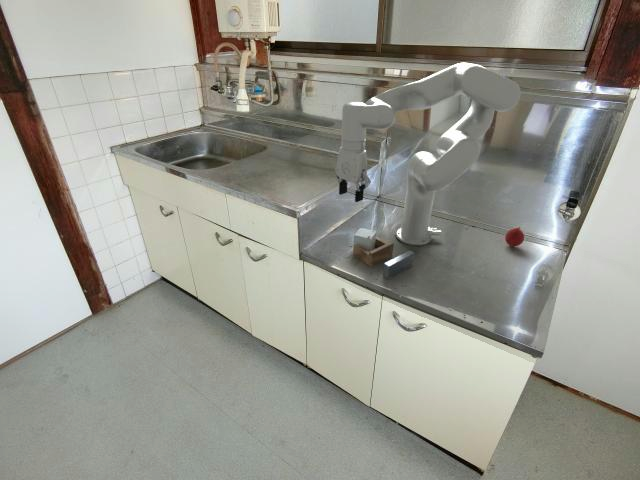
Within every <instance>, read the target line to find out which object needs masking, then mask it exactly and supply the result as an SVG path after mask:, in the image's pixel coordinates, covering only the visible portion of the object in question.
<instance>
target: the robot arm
mask: <svg viewBox="0 0 640 480" xmlns="http://www.w3.org/2000/svg"><path fill="white" fill-rule="evenodd" d="M521 95H522V91H521V88H520V86H519V84H518V83H517V82H516V81H514V80H512V79H510V78H507V77H505V76H503V75H501V74H499V73H497V72H496V71H493V70H491V69H488V68H486V67H484V66H482V65H480V64H475V63H469V62H460V63H456V64H453V65H451V66H449V67H447V68H444V69H442V70H440V71H438V72H435V73H433V74H431V75H429V76H427V77H424V78H422V79H420V80H418V81H414V82H410V83H407V84H404V85H400V86H397V87H395V88H391V89H389V90H386V91H384V92H381V93H380V94H377V95H375V96H373V97H371V98H370V99H368V100H367V101H365V103H364V102H361V101H359V102H358V101H351V102H346V103H345V104H343V106H342V109H341V110H342V111H341V112H342V113H341V115H342V119H341V138H340V142H341V145H340V147H339V150H338V154H337V159H336V160H337V161H336V166H335V167H334V172H335V175H336V178H337V182H338V184H339V185H338V186H339V187H338V188H339V189H338V195H340V196H342V195H344V194H347V193H348V183H352V184H355V188H356V190H355V193H354V202H355V203H358V202H361V201H363V200H364V191H365V190H366V189H367V188H368V187H369V185H370V184H372V181H371V179H370V177H369V176H368V158H367V157H368V155H367V150H366V141H367V129H371V130H376V131H377V130H378V131H380V130H381V131H383V130H387V129H389V128H391V127H392V126H393V125H394V124H395V121H396V113H399V112H402V111H410V110H412V111H420V110H421V111H423V110H428V109H431V108H432V107H435V106H438V105H440V104H442V103H444V102H447V101H448V100H451V99H453V98H455V97H458V96H463V97H466V98H468V99H471V104H470V107H469V109H468V111H467V112H466V114H465V115H464V116H463V117H462V118H461V119H460V120H458V121H457V122H456V123H455V124H454V125H453V126H451V127H450V128H449V129H448V130H446V131H445V132H444V133H443V134H442V135H441V136H439V137H438V139H437V141H436V142H435V149H436V152H437V154H438V155H439V156H440V157H437V156H436V155H434V154H433V153H431V152H429V151H425V150H424V151H423V150H422V151H419V152H416V153H414V154H413V155H412V156H411V157H410V158H409V160H408V162H407V168H406V180H407V181H406V193H405V198H404V199H405V200H404V206H403V213H402V221H401V227H400V228H398V229H397V231H396V234H395V236H396V239H397V240H399V241H400V242H402V243H404V244H406V245H410V246H424V245H427V244H429V243H430V242H431V241H432V237H433V236H435V237H436V236H437V237H441V236H442V234H443V233H442V230H438V228H437V227H431V226H430V223H431V215H432V211H433V207H434V206H433V205H434V200H435V193H436V192H438V191H442V190H443V189H445V188H446V187H448V186H450V184H452V183H453V182H454V181H456V180H457V179H458V178H459V177H460V176H462V175H463V174H464V173H465V172H467V171H468V170H469V169H470V168H471V167H473V166H474V165H475V163H476V162H477V160H478V159H479V156H480V153H481V146H480V143H479V142H478V140H479V139H481V138H482V136H484V134H485V133H487V132H488V130H489V129H490V127H491V125H492V122H493V120H494V115H495V111H496V112H499V113H503V112H508V111H510V110H513V109H514V108H515V107H516V106H517V105H518V103H519V102H520V99H521V97H522V96H521Z"/></svg>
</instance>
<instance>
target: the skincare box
mask: <svg viewBox="0 0 640 480" xmlns="http://www.w3.org/2000/svg"><path fill="white" fill-rule="evenodd" d="M376 237H377V230H372V229H368V228H364V227H359V229H357V231H356V233H355V234H354V236H353V249H352V253H353V252H354V245H358V246H360V247H361V248H363V249H365V250H367V251H368V252H370V251H372V250H375V242H376Z"/></svg>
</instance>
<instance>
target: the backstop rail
mask: <svg viewBox="0 0 640 480" xmlns="http://www.w3.org/2000/svg"><path fill="white" fill-rule="evenodd" d="M414 259H415V252H413V251H412V250H410V249H409V250H407V251H405V252H404V253H402V254H400V255H398V256H396V257H394V258H392V259H390V260H388V261H386V262H384V264H383V273H382V277H383V278H384V279H386V280H387V281H388V280H389V279H392V278H394V277H395V276H397V275H399V274H401V273H403V272H404V271H407V270H408V269H409V268H411V267H413V266H414V265H413V264H414Z"/></svg>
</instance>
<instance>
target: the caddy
mask: <svg viewBox="0 0 640 480" xmlns="http://www.w3.org/2000/svg"><path fill="white" fill-rule="evenodd" d="M353 247H354V252H353V251H352V253H353V257H354V258H356V259H358V260H359V261H361V262H362V263H364V264H366V265H368V266H369V267H373V266H375V265H377V264H379V263H380V262H383V261H384V260H385V261H386V259H389V258H391V257H393V254H394V242H393V241H390V242H388V241H386V240H384V239H382V238H380V237H379V236H376V242H375V249H374V250H372V251H370V252H368V251H367V250H365V249H363V248H361V247H360V246H358V245H354V244H353Z"/></svg>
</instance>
